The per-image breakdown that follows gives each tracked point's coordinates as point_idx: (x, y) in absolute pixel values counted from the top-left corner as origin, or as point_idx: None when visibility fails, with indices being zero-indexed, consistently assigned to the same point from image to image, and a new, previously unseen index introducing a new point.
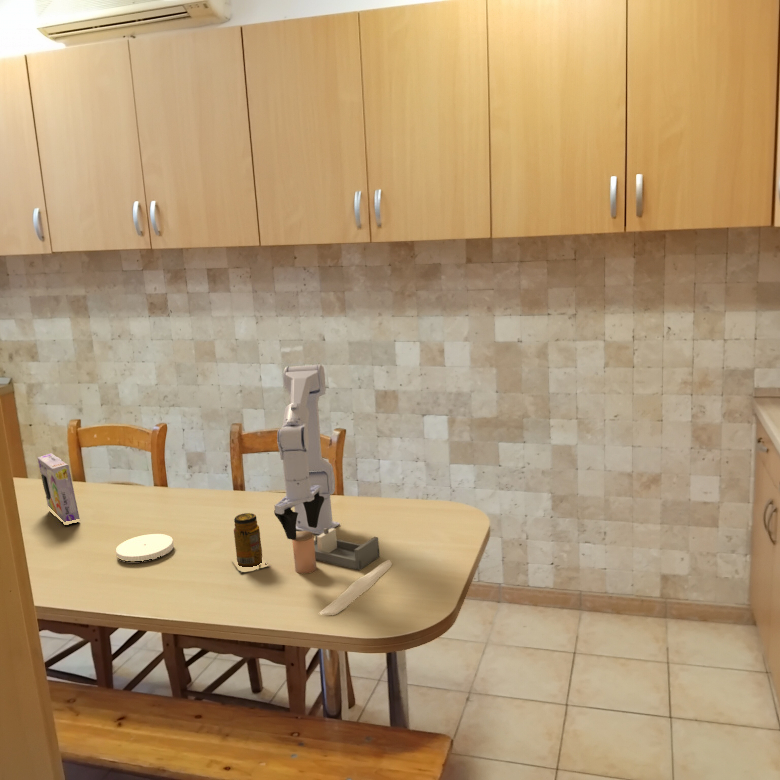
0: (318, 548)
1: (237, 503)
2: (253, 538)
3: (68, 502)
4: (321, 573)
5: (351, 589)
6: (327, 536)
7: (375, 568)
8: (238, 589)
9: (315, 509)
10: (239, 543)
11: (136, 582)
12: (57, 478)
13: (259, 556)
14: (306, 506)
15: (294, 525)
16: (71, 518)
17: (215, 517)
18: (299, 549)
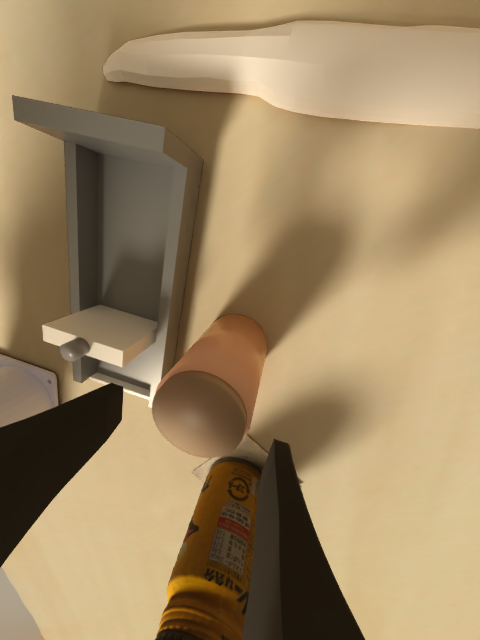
0: (148, 345)
1: (28, 549)
2: (235, 555)
3: None
4: (253, 287)
5: (424, 61)
6: (95, 335)
7: (196, 66)
8: (386, 469)
9: (3, 472)
10: None
11: (364, 635)
12: None
13: (235, 478)
14: (4, 543)
15: (297, 539)
16: None
17: (85, 568)
18: (256, 390)
